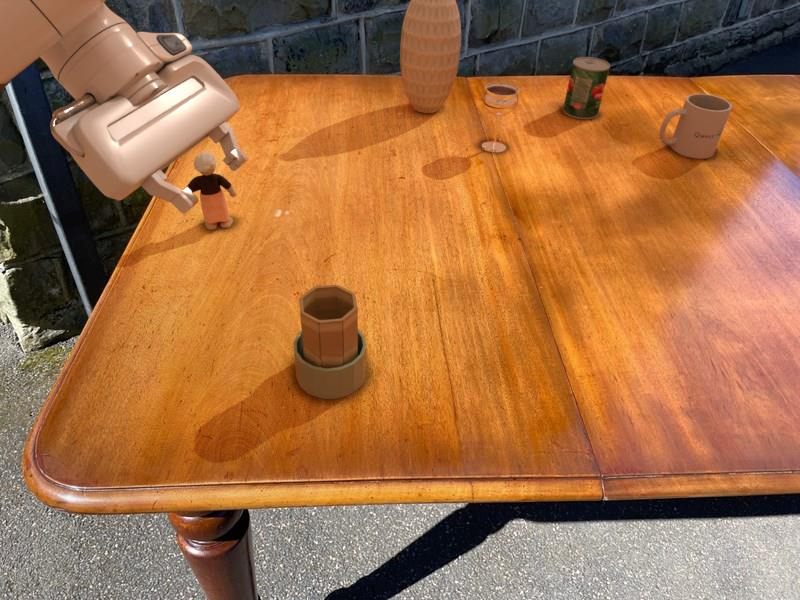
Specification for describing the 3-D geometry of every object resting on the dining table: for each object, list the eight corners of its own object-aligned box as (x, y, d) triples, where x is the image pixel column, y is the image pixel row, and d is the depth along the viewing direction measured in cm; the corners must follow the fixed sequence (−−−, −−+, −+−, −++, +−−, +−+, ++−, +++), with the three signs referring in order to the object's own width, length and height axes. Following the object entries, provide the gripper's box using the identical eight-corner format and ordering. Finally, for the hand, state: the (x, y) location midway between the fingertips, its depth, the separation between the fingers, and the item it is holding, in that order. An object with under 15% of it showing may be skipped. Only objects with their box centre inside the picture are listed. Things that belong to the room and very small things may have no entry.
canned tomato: (601, 120, 140) (613, 71, 133) (565, 118, 140) (576, 68, 133) (594, 105, 147) (606, 57, 139) (560, 103, 147) (570, 55, 139)
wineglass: (495, 157, 125) (504, 98, 117) (470, 145, 129) (477, 87, 121) (517, 148, 128) (527, 90, 121) (492, 136, 132) (500, 79, 124)
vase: (428, 125, 135) (439, -19, 117) (386, 106, 141) (389, -33, 123) (466, 109, 142) (481, -29, 124) (424, 92, 149) (432, -42, 131)
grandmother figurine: (236, 213, 106) (226, 143, 98) (242, 225, 103) (231, 154, 95) (189, 223, 103) (174, 151, 95) (193, 235, 100) (179, 163, 92)
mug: (707, 141, 134) (724, 95, 128) (718, 160, 128) (737, 113, 121) (648, 136, 135) (663, 90, 129) (657, 155, 129) (672, 107, 122)
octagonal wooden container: (334, 397, 75) (331, 329, 68) (294, 373, 78) (287, 306, 71) (367, 366, 79) (367, 299, 72) (327, 344, 82) (324, 278, 75)
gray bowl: (335, 410, 75) (334, 381, 71) (281, 377, 78) (278, 348, 75) (379, 368, 80) (380, 339, 77) (326, 339, 84) (325, 310, 80)
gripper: (50, 99, 53) (172, 223, 57) (192, 29, 68) (280, 131, 72) (26, 138, 57) (141, 251, 61) (165, 63, 72) (250, 158, 76)
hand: (218, 185), depth 67 cm, fingers open, 8 cm apart
